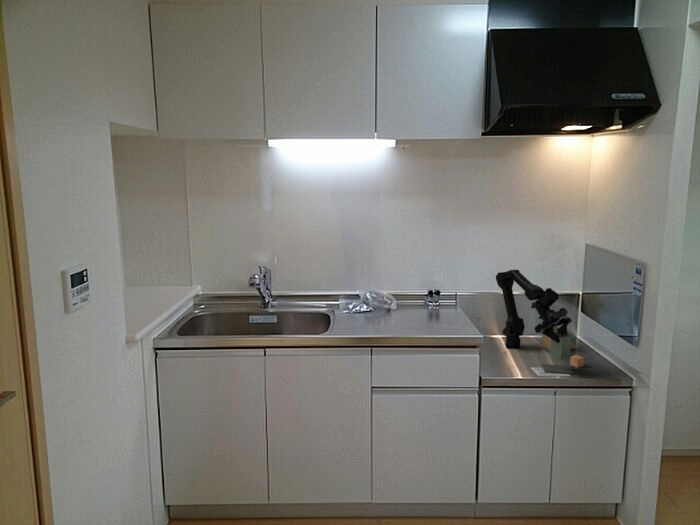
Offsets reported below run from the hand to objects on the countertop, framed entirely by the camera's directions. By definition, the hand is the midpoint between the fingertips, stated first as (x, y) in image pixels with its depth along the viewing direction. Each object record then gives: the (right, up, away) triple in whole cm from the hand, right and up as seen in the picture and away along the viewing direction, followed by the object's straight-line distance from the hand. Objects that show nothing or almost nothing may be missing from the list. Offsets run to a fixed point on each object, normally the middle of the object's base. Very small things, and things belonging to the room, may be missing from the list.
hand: (563, 341), depth 219 cm
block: (+10, -12, +8) cm, 18 cm away
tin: (-1, -7, +2) cm, 7 cm away
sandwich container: (+12, -8, +32) cm, 36 cm away
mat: (-2, -13, +3) cm, 14 cm away
